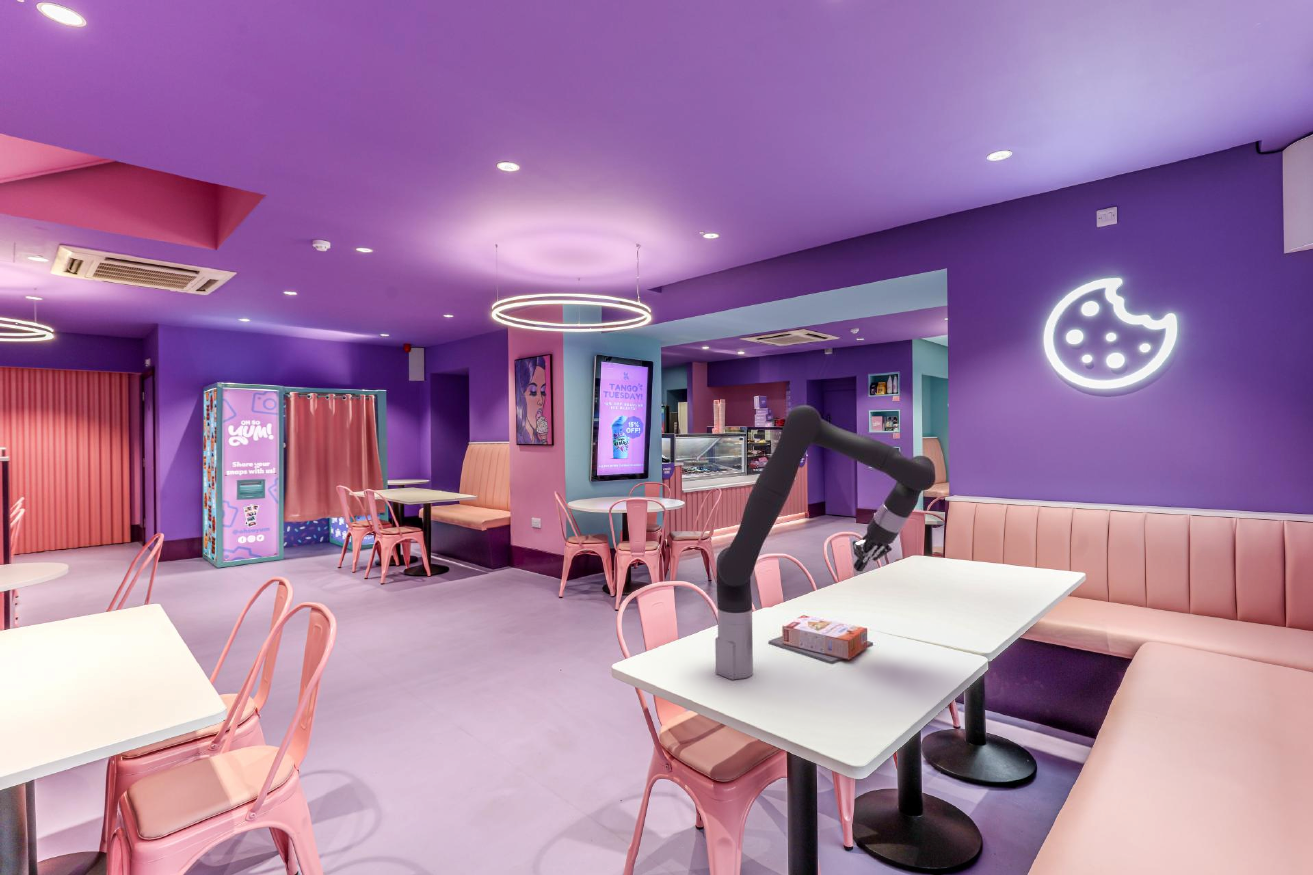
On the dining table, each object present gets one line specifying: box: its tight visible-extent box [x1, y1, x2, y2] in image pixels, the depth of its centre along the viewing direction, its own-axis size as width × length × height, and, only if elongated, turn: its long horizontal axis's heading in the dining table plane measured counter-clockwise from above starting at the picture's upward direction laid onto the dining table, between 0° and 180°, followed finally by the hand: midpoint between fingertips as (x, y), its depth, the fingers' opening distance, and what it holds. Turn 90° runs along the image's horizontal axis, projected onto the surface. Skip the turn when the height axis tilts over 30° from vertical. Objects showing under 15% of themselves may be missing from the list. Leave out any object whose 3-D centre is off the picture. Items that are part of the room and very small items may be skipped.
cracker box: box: [781, 615, 868, 660], centre depth 174 cm, size 14×6×21 cm
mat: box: [767, 635, 874, 665], centre depth 178 cm, size 22×22×1 cm
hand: (857, 569), depth 165 cm, fingers closed
